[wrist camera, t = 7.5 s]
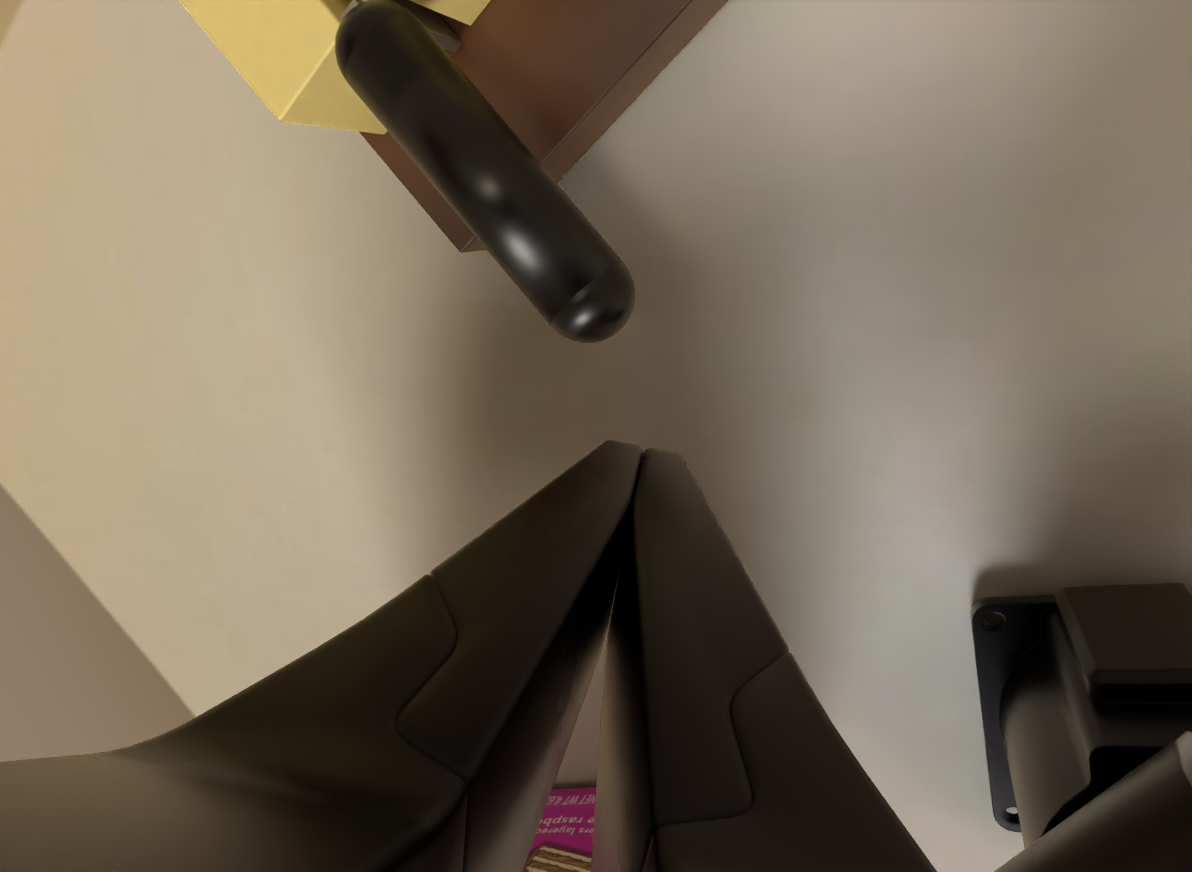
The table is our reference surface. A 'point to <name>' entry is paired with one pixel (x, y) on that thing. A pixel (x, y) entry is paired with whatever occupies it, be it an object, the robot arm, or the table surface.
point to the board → (554, 78)
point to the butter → (299, 54)
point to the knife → (482, 166)
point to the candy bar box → (564, 833)
